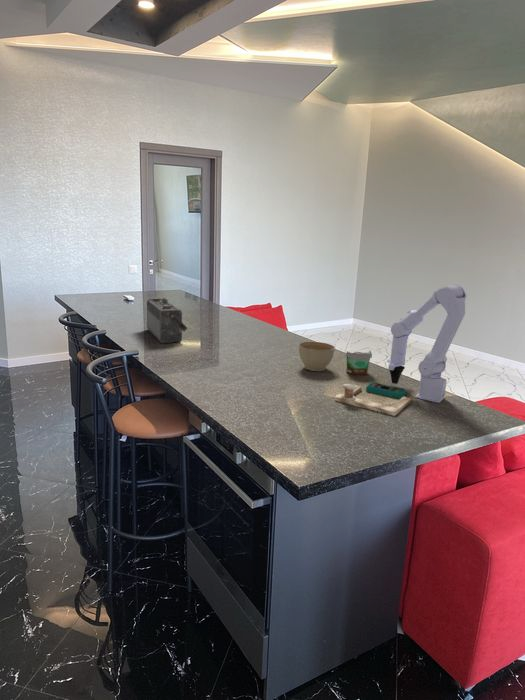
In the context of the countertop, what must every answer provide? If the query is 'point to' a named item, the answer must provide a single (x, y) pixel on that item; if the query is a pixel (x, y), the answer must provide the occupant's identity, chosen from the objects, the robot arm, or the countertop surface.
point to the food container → (358, 363)
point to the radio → (164, 320)
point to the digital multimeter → (386, 390)
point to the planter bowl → (316, 355)
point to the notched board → (350, 399)
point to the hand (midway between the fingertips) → (394, 383)
